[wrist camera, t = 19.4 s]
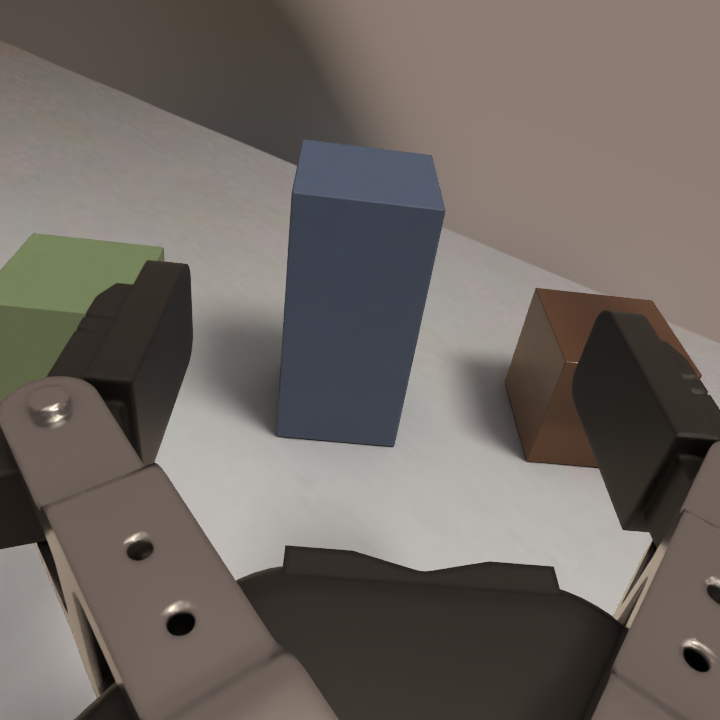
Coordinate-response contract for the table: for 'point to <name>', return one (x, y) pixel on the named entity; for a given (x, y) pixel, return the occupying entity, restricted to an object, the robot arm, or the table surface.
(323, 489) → the table surface
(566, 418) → the block
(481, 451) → the table surface
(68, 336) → the block
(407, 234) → the tall block
